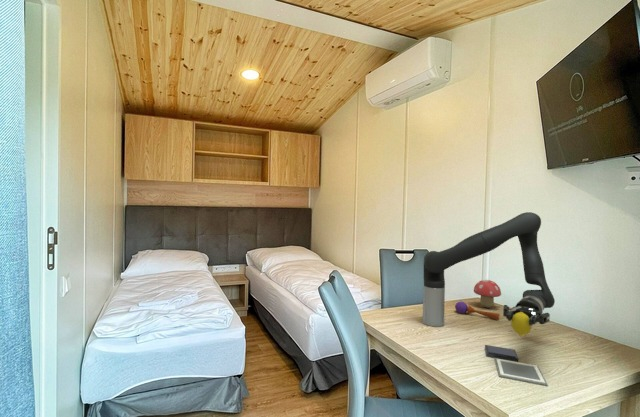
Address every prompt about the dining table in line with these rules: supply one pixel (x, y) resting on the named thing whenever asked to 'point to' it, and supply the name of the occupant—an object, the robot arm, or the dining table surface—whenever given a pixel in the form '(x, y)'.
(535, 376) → the marked board
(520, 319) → the lemon
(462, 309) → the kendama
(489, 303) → the decorative mushroom
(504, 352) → the ink pad
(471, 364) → the dining table surface
